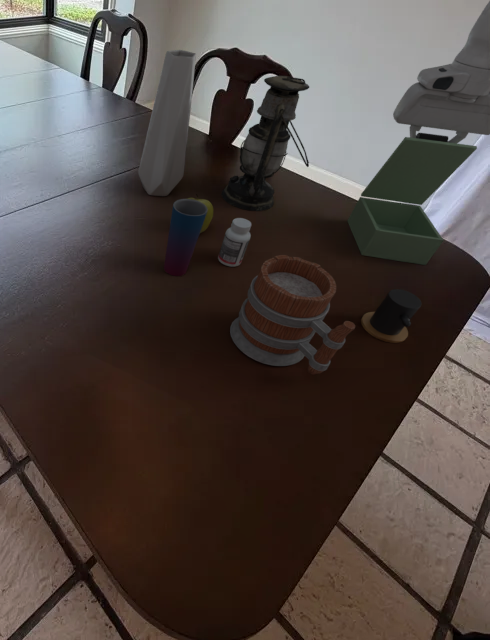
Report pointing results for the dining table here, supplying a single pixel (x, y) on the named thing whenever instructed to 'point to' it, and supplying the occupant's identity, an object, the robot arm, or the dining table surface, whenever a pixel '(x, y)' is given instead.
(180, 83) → the vase
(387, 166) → the lid
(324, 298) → the mug
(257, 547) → the dining table surface
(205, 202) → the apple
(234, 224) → the pill bottle
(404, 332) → the coaster
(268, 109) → the lantern
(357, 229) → the chest
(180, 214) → the cup
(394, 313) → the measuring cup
